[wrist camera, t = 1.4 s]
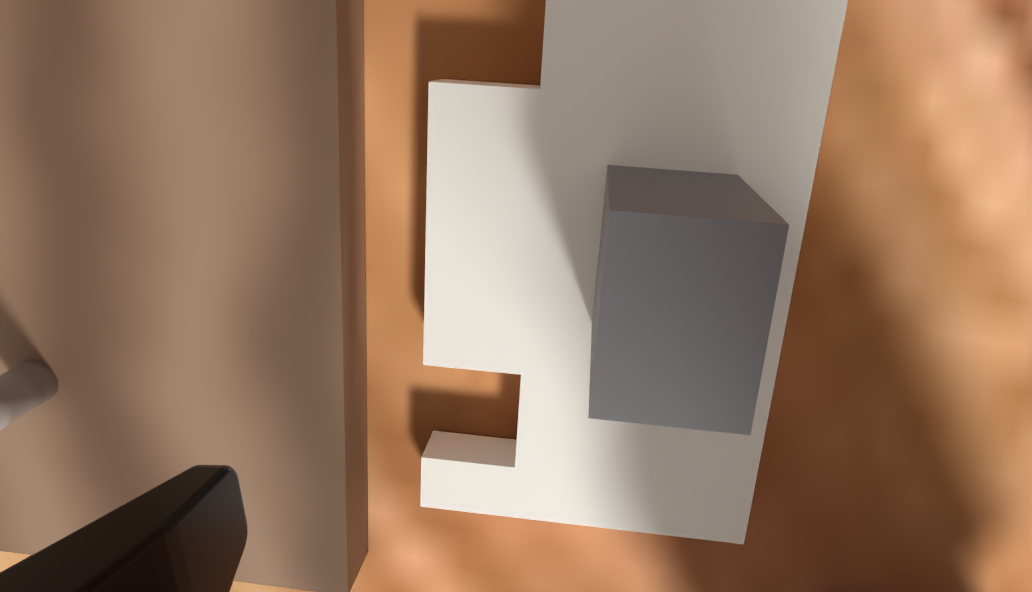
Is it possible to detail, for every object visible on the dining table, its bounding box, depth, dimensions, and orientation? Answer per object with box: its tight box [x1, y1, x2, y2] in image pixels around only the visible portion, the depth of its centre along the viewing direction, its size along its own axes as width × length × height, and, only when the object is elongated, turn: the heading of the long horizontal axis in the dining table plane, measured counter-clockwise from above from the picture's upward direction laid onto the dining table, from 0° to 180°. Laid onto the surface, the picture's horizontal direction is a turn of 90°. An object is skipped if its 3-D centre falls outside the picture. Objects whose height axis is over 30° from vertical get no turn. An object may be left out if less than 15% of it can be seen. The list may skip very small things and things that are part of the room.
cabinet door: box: [421, 0, 848, 544], centre depth 16 cm, size 9×16×6 cm, turn 177°
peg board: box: [0, 0, 368, 592], centre depth 18 cm, size 13×22×6 cm, turn 177°
